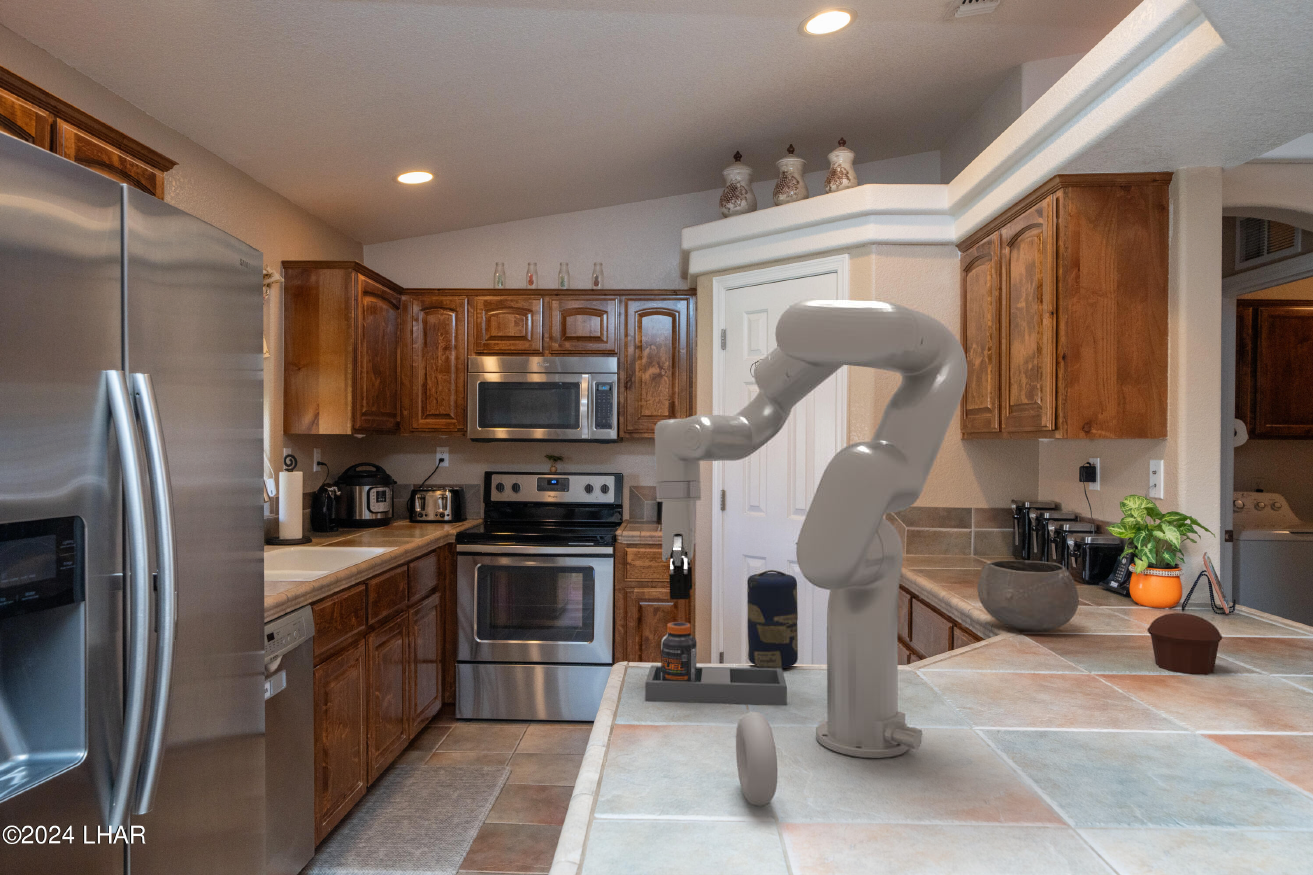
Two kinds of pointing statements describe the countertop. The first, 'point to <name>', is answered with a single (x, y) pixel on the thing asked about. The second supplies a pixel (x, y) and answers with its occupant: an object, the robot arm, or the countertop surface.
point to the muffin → (1184, 643)
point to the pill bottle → (678, 653)
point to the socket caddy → (720, 686)
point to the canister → (772, 619)
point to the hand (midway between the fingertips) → (681, 594)
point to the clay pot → (1028, 594)
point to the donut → (756, 758)
